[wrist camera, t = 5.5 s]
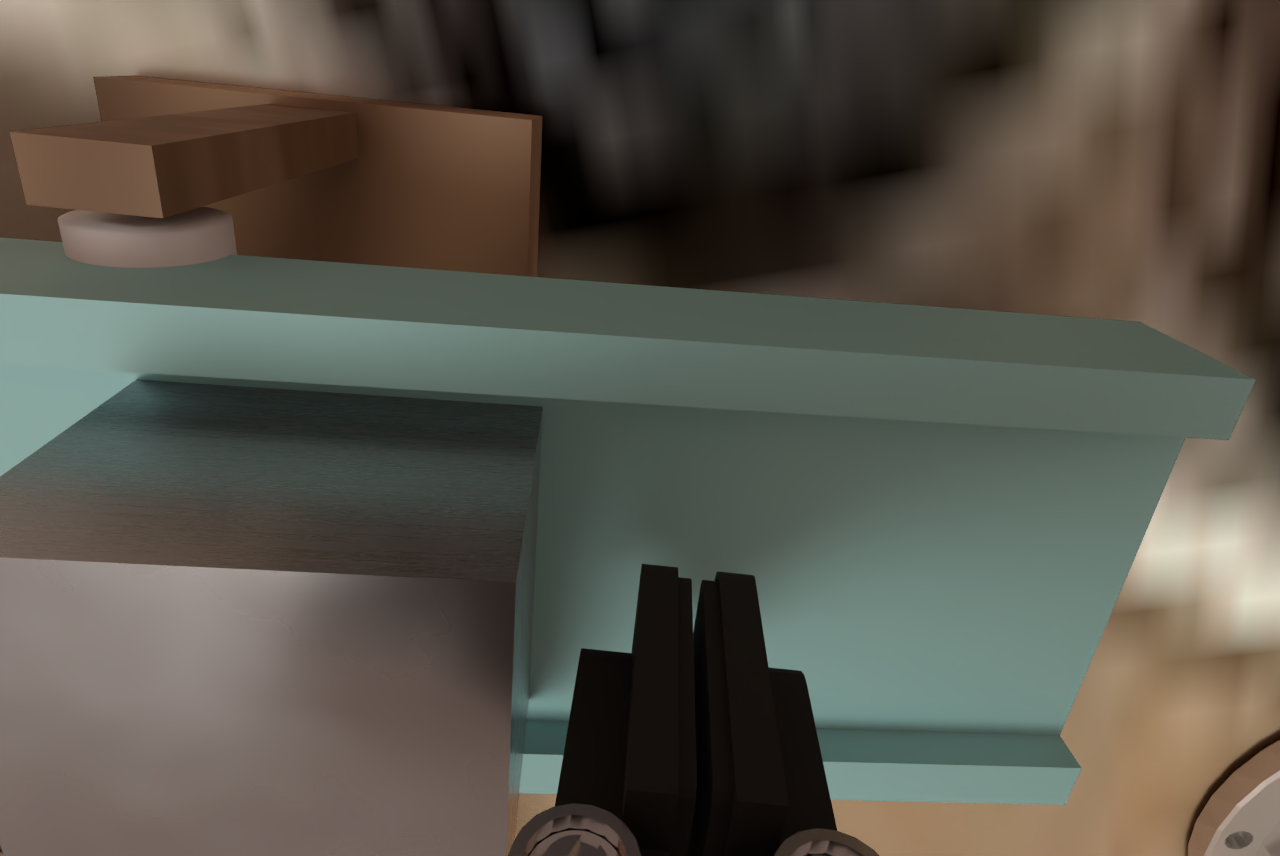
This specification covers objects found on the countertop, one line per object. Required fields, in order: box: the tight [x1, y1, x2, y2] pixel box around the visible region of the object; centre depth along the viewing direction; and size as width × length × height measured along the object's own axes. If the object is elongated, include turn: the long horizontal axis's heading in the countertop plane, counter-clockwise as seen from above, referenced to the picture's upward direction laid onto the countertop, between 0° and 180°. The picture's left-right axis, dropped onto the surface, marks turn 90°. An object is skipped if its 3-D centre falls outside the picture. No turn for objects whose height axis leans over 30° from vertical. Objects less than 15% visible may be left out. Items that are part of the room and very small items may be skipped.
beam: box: [0, 207, 1256, 805], centre depth 14 cm, size 34×10×5 cm, turn 85°
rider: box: [0, 379, 543, 856], centre depth 11 cm, size 6×6×4 cm
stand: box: [10, 76, 542, 277], centre depth 18 cm, size 10×13×9 cm
